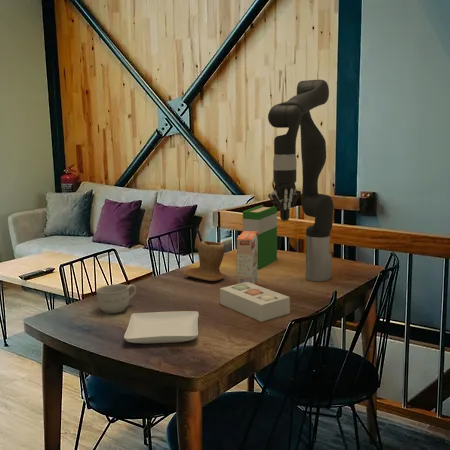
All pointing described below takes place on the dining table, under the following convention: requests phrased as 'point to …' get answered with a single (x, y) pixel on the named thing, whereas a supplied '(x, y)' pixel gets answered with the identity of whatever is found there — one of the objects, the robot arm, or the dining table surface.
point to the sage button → (240, 287)
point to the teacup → (114, 297)
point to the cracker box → (247, 257)
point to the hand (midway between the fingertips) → (284, 220)
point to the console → (255, 302)
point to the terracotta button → (253, 292)
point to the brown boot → (208, 262)
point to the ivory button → (267, 297)
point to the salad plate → (162, 327)
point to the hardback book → (263, 232)
